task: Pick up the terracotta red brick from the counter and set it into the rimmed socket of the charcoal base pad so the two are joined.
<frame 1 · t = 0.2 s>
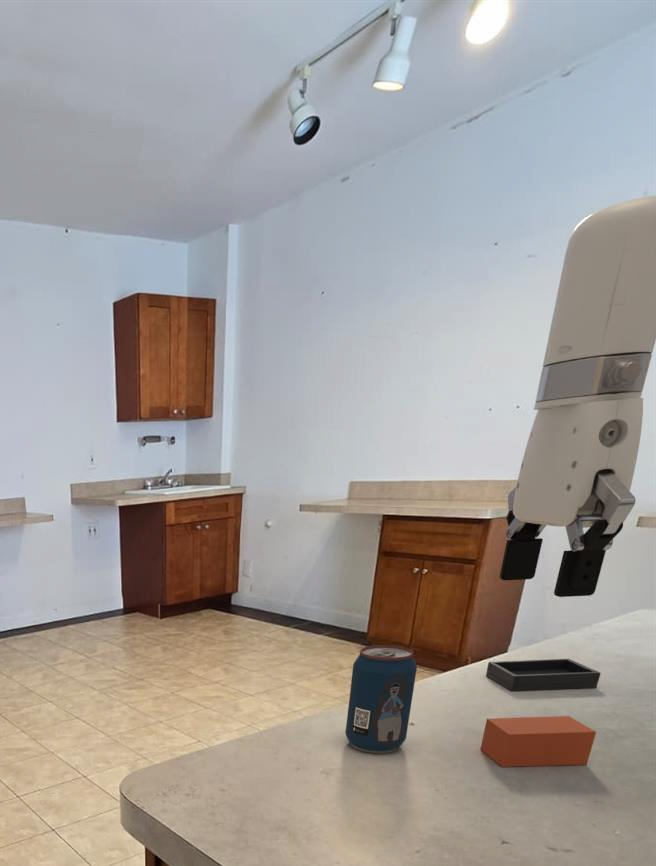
hand: (542, 586, 63), 20 cm above the countertop, tool pointing down, fingers open, 9 cm apart
base pad: (538, 681, 97), on the countertop
soda can: (373, 745, 80), on the countertop
red brick: (531, 756, 74), on the countertop
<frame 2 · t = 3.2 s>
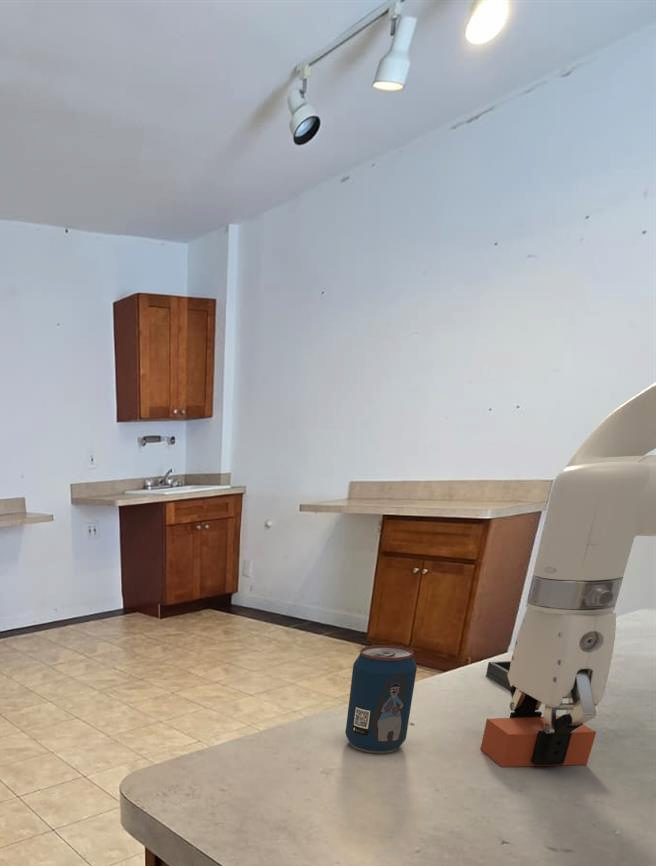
hand: (532, 752, 74), 1 cm above the countertop, tool pointing down, fingers closed on red brick, 5 cm apart
red brick: (531, 756, 74), on the countertop, touching gripper
everything else where it was.
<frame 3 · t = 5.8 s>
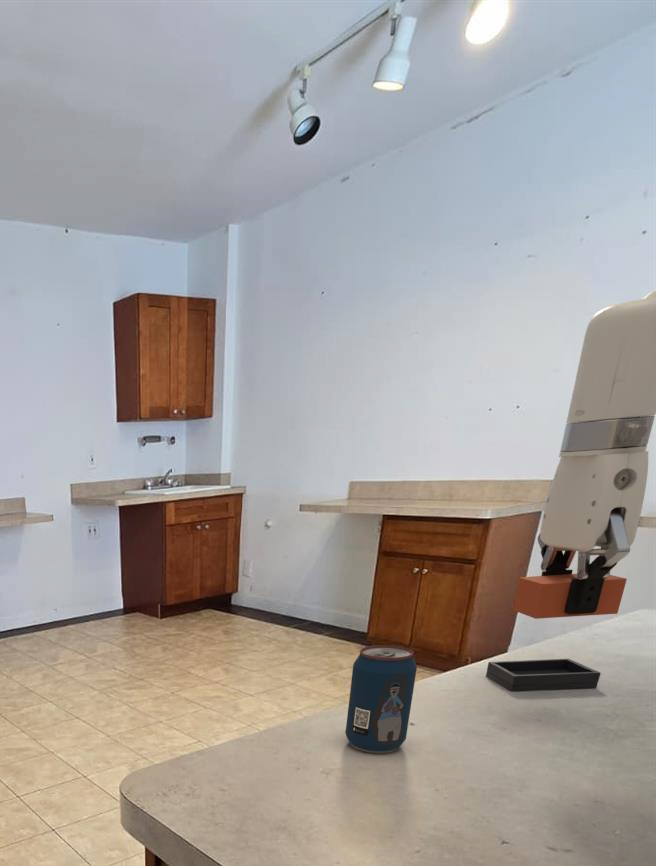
hand: (564, 606, 77), 15 cm above the countertop, tool pointing down, fingers closed on red brick, 5 cm apart
red brick: (563, 612, 77), point 14 cm above the countertop, touching gripper
everything else where it was.
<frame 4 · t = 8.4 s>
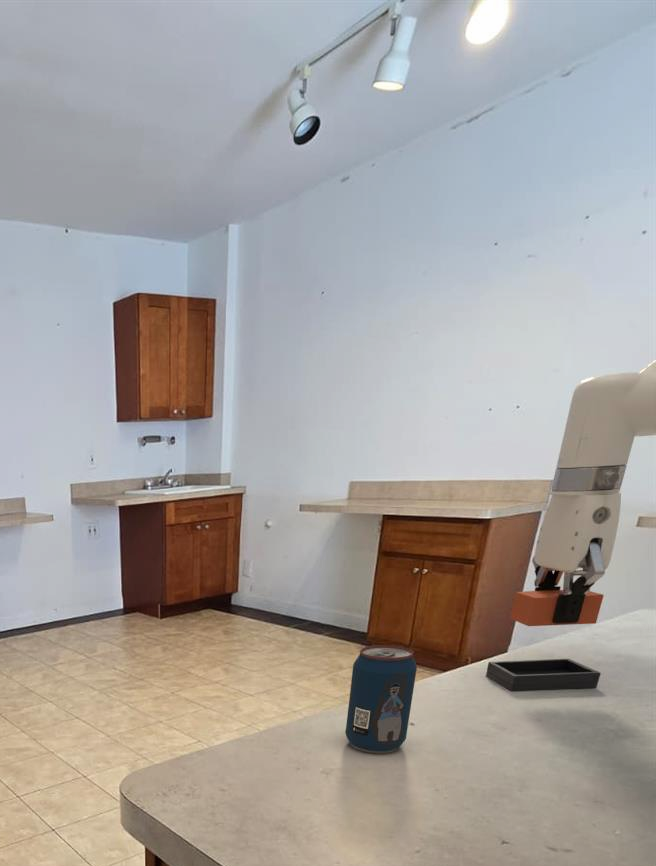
hand: (553, 617, 93), 10 cm above the countertop, tool pointing down, fingers closed on red brick, 5 cm apart
red brick: (551, 621, 93), point 9 cm above the countertop, touching gripper
everything else where it was.
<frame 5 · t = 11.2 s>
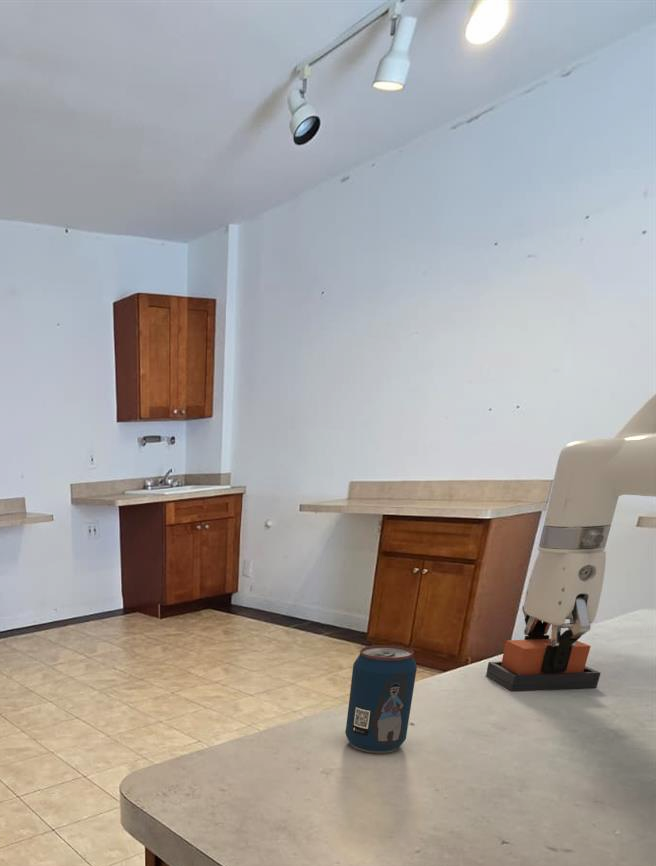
hand: (542, 665, 96), 3 cm above the countertop, tool pointing down, fingers closed on red brick, 5 cm apart
red brick: (540, 669, 96), point 2 cm above the countertop, touching gripper
everything else where it was.
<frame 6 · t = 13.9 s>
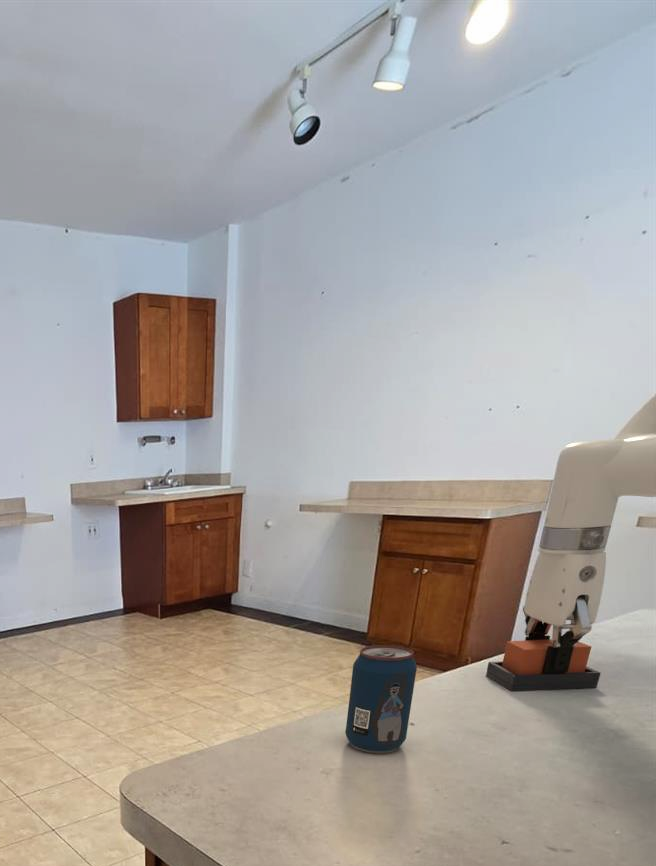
hand: (543, 666, 96), 2 cm above the countertop, tool pointing down, fingers closed on red brick, 5 cm apart
red brick: (541, 669, 96), point 2 cm above the countertop, touching gripper
everything else where it was.
when the fingers open (3 cm above the countertop, at t = 14.0 s): red brick drops 1 cm, resting on base pad.
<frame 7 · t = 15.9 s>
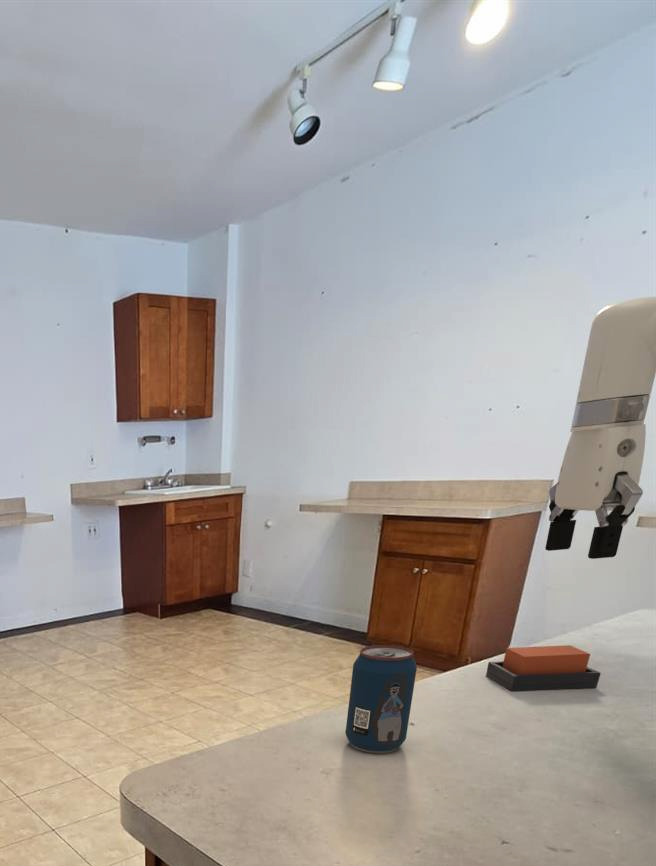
hand: (578, 553, 90), 18 cm above the countertop, tool pointing down, fingers open, 9 cm apart
red brick: (540, 676, 96), point 1 cm above the countertop, touching base pad
everything else where it was.
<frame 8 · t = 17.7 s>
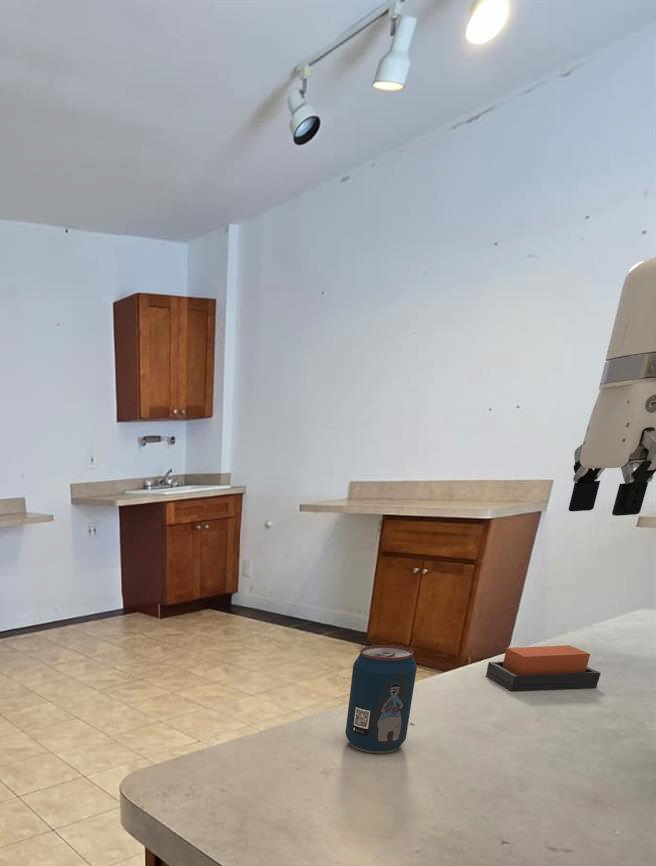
hand: (601, 512, 91), 23 cm above the countertop, tool pointing down, fingers open, 9 cm apart
nothing on the countertop moved.
at the end: red brick 0.1 cm off-centre in the base pad, point 0.8 cm above the base pad's base; red brick tilted 0°; the gripper is holding nothing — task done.
